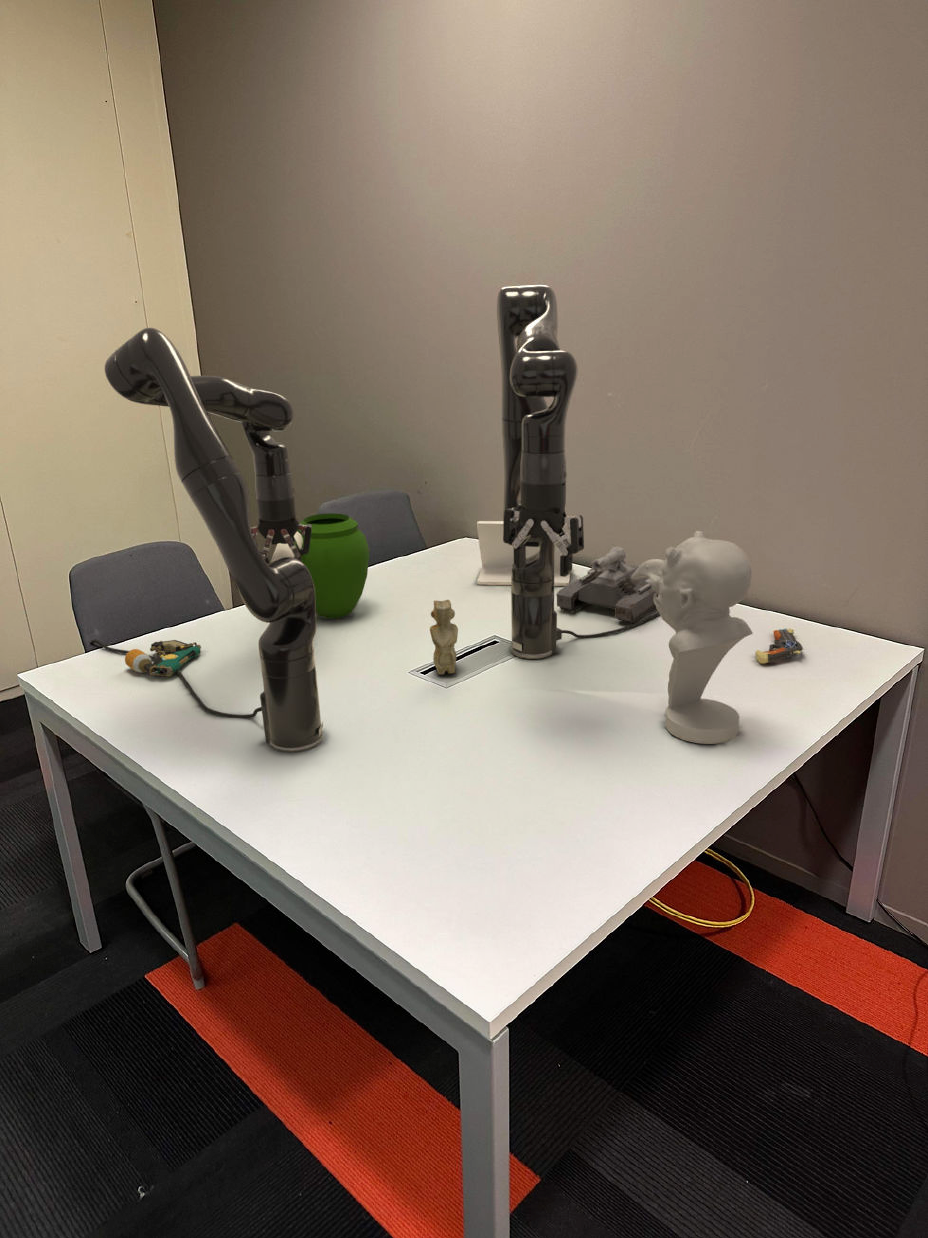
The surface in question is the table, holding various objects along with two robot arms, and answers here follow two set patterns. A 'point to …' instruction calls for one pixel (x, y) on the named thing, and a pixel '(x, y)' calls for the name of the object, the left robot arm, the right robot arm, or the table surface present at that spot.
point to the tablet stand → (506, 556)
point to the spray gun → (162, 657)
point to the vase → (336, 563)
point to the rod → (286, 548)
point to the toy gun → (780, 646)
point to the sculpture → (444, 637)
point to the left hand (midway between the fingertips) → (283, 573)
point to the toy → (610, 589)
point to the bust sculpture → (699, 629)
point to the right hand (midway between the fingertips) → (542, 571)
